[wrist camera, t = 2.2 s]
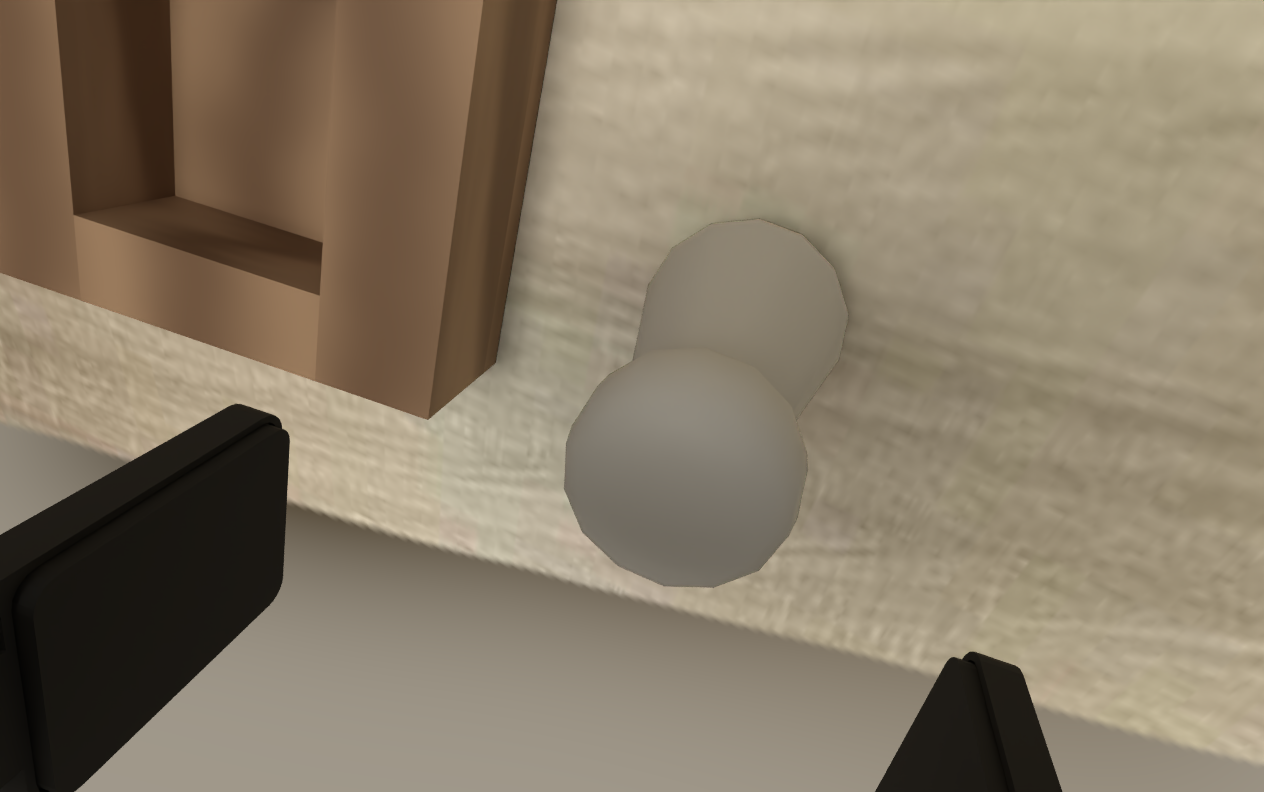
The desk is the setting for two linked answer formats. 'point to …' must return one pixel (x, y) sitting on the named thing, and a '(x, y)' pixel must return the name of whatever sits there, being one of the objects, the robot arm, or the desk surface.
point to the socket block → (279, 175)
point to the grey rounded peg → (709, 408)
